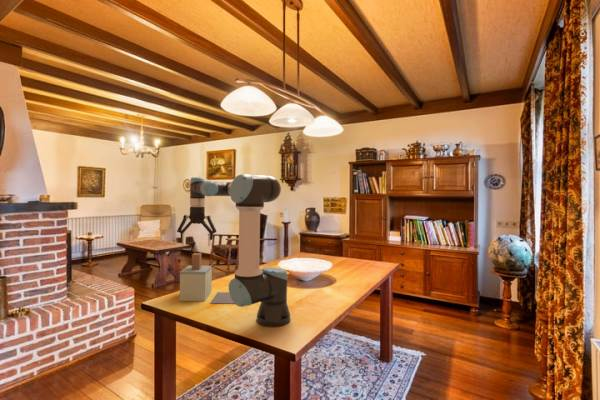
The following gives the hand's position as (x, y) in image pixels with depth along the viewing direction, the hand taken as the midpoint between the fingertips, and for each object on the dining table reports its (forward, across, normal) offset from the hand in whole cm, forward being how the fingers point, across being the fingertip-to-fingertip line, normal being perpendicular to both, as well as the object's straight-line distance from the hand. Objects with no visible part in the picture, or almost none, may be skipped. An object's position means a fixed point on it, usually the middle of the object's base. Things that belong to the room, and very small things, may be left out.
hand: (196, 245), depth 159 cm
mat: (+28, -18, +2) cm, 33 cm away
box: (+28, 0, 0) cm, 28 cm away
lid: (+14, 0, 0) cm, 14 cm away
